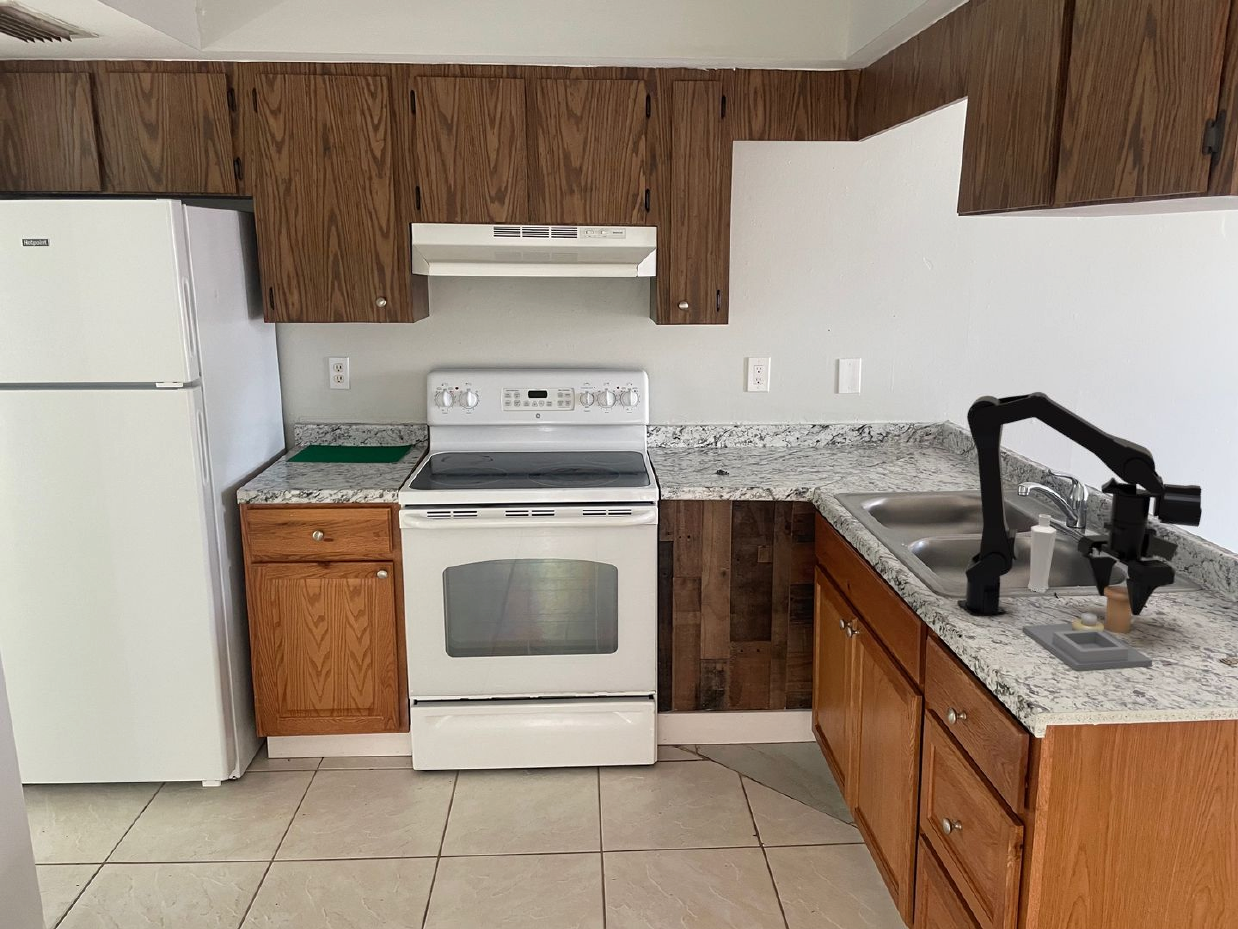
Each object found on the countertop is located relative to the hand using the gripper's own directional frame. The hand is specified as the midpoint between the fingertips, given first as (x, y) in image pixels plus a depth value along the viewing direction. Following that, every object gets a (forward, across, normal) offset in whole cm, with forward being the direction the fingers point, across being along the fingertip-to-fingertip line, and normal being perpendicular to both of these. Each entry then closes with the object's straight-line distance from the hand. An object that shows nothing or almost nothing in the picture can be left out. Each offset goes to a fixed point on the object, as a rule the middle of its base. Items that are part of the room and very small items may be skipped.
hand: (1118, 605), depth 167 cm
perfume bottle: (+4, +20, +3) cm, 21 cm away
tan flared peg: (+4, 0, 0) cm, 4 cm away
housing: (+4, -7, +10) cm, 13 cm away
